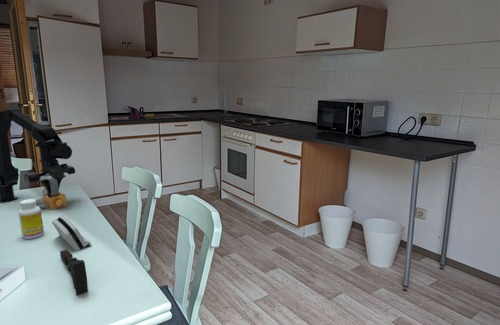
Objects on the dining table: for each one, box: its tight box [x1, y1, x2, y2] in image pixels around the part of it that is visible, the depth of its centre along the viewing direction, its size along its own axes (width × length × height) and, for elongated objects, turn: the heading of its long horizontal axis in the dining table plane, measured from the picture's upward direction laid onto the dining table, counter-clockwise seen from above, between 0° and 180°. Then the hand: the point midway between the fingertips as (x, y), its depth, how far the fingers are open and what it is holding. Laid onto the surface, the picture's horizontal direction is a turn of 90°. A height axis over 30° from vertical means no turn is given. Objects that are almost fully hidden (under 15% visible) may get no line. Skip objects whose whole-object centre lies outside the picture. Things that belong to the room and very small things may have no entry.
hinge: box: [51, 215, 93, 252], centre depth 119 cm, size 17×5×10 cm, turn 44°
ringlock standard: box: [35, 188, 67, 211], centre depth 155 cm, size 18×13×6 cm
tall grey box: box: [47, 177, 60, 197], centre depth 153 cm, size 4×3×8 cm
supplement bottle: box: [17, 198, 45, 240], centre depth 124 cm, size 7×7×13 cm
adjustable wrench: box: [59, 249, 89, 296], centre depth 100 cm, size 8×3×25 cm
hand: (53, 192), depth 153 cm, fingers closed on tall grey box, 3 cm apart
